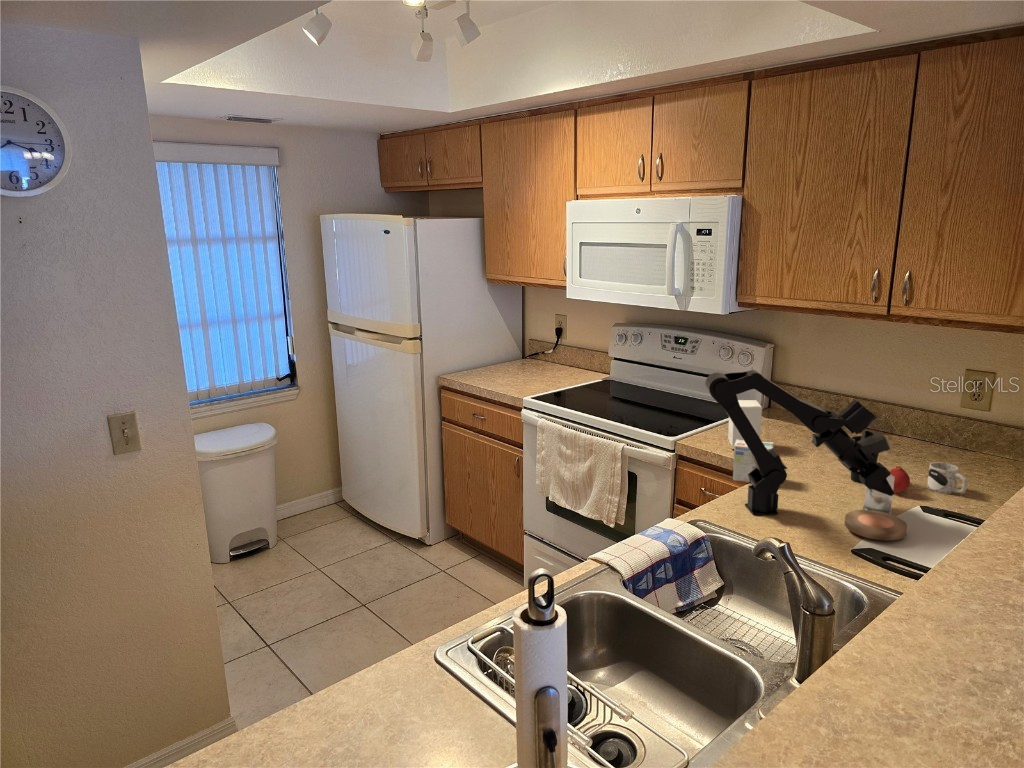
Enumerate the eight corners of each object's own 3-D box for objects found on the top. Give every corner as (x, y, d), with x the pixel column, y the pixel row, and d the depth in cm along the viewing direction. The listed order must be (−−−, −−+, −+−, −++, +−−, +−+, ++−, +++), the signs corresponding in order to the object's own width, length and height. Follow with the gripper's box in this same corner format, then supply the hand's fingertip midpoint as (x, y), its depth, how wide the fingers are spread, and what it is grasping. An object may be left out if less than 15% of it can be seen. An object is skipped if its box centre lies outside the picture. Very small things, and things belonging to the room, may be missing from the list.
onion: (886, 487, 185) (889, 460, 183) (910, 492, 182) (913, 464, 180) (881, 494, 181) (884, 466, 179) (906, 498, 177) (909, 470, 175)
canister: (871, 518, 166) (875, 480, 164) (857, 508, 172) (861, 471, 170) (896, 517, 166) (901, 479, 164) (882, 507, 172) (886, 470, 170)
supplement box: (760, 451, 218) (762, 406, 214) (731, 450, 219) (733, 406, 216) (754, 442, 226) (757, 399, 223) (727, 441, 228) (729, 399, 224)
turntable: (862, 545, 152) (863, 533, 152) (834, 521, 165) (834, 510, 164) (918, 543, 153) (919, 531, 152) (886, 519, 165) (887, 508, 165)
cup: (852, 473, 196) (856, 434, 193) (880, 479, 191) (885, 439, 188) (842, 480, 191) (846, 440, 188) (871, 487, 186) (875, 446, 183)
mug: (921, 487, 185) (923, 464, 183) (938, 483, 187) (941, 460, 186) (955, 500, 176) (959, 476, 174) (973, 496, 178) (976, 472, 177)
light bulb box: (772, 477, 195) (774, 441, 193) (771, 485, 189) (774, 448, 187) (733, 472, 199) (735, 438, 197) (732, 480, 193) (733, 445, 191)
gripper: (885, 435, 155) (930, 480, 157) (854, 413, 174) (895, 454, 175) (846, 467, 158) (891, 511, 159) (820, 442, 176) (860, 482, 177)
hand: (885, 488), depth 168 cm, fingers open, 8 cm apart
